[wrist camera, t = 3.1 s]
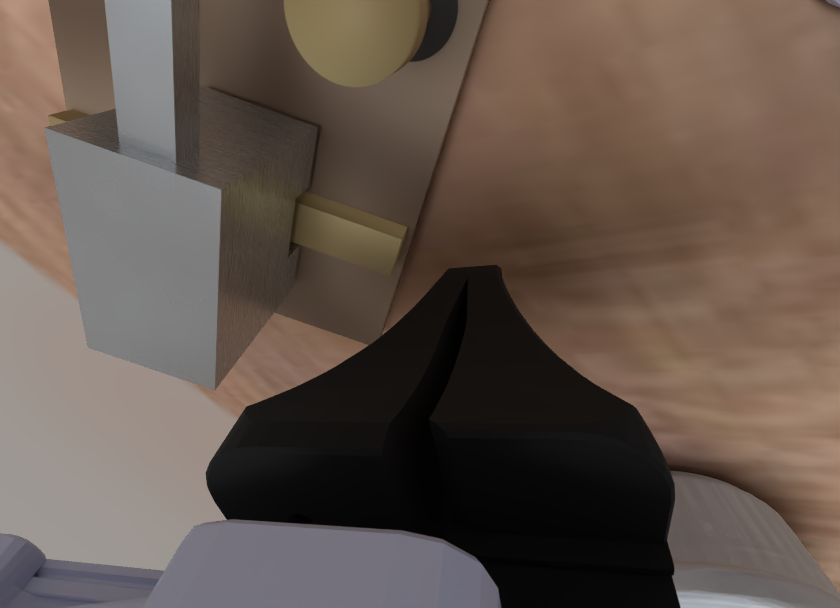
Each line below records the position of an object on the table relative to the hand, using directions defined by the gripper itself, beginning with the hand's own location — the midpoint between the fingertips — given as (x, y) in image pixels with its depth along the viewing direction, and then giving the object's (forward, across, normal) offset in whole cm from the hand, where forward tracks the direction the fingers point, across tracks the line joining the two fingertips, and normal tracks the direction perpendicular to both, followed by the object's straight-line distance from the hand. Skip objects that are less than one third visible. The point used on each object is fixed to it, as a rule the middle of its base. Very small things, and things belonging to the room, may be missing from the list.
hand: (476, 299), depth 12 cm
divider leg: (+1, +5, -5) cm, 7 cm away
